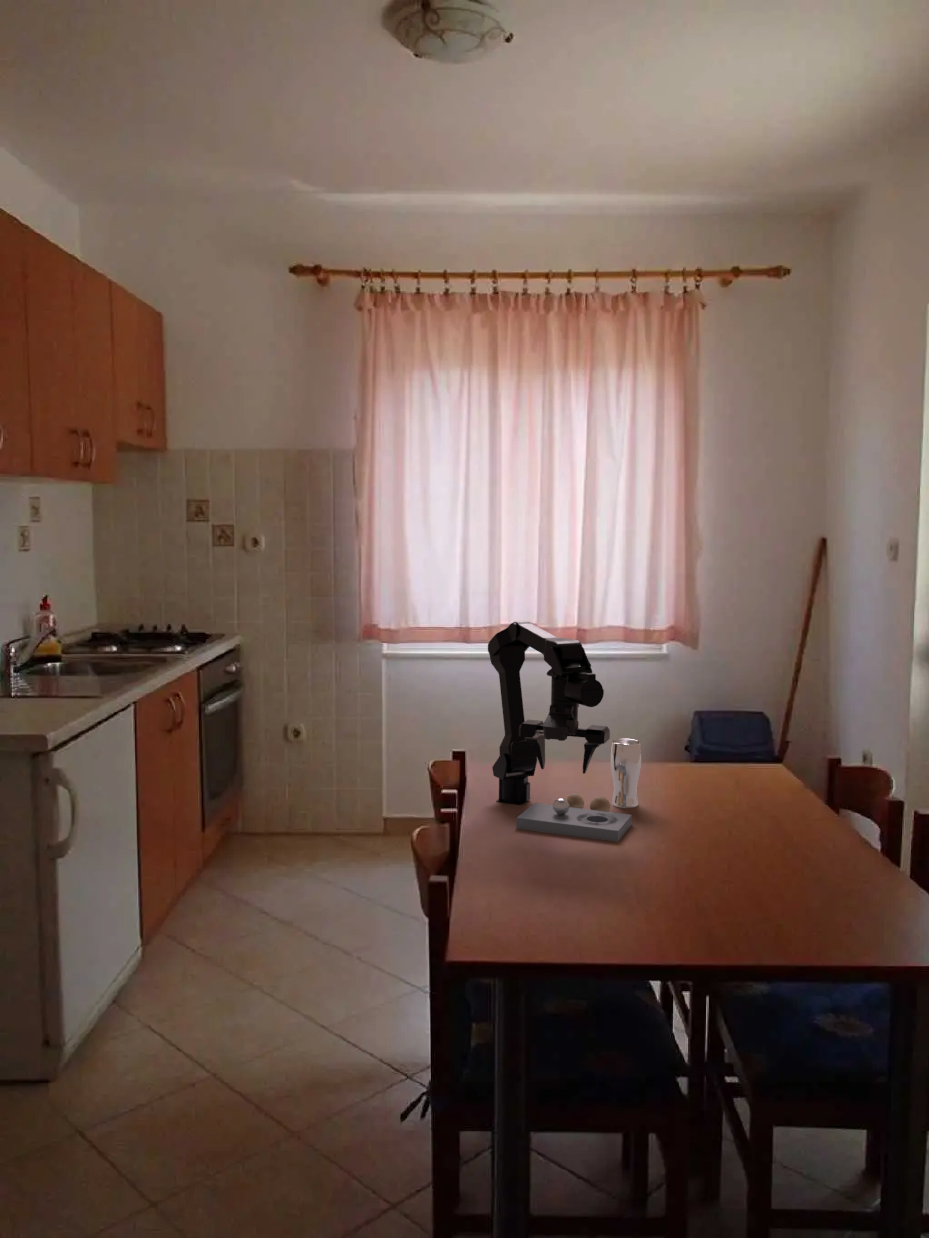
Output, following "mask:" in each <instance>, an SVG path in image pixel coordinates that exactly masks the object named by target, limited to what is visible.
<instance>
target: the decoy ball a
mask: <svg viewBox="0 0 929 1238" xmlns="http://www.w3.org/2000/svg"><path fill="white" fill-rule="evenodd" d="M564 799H565V800H567V801H568V803H569V807H573V808H581V809H584V807H585V800H584V798H583V797H582V796H581V795H580V794H578V793H577V792H576V793H575V792H574V793H569V794H567V796H565V798H564Z"/></svg>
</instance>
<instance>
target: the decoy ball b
mask: <svg viewBox="0 0 929 1238" xmlns="http://www.w3.org/2000/svg"><path fill="white" fill-rule="evenodd" d="M589 810H597V811H605V812H611V803H610V801H609V799H607V798H606V797H604V796H600V795H599V796H595V797H594V798H592V800H591V801H590V804H589Z"/></svg>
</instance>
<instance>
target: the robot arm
mask: <svg viewBox="0 0 929 1238" xmlns="http://www.w3.org/2000/svg"><path fill="white" fill-rule="evenodd" d="M530 648H532V649H533V650H534V651H537V652H539V653H540V654H541V655H543V660H544V661H545V662H544V663H546V664H547V665H548V666H550V669H549V670H548V671H547V672H546V675H547V676H549V677H551V678H550V679H551V681H550V683H551V692H550V702H551V703H550V705H549V708H548V709H549V711H548V714H547V717H546V718H545V720H544V721H543V720H535V719H526V720H525V711H524V710H525V709H524V703H523V702H524V699H523V690H522V682H521V681H522V680H521V673H520V672H521V669H522V667H523V665H524V663H525V661H526V652H527V650H528V649H530ZM487 652H488V655H489V658H490V664H491V665H492V667H494V670H496V672H497V673H498V677H499V678H498V679H499V688H500V700H501V708H502V716H503V717H502V718H503V719H502V720H503V727H504V728H503V729H504V736H503V738H502V741H501V743H500V745H499V756H498V758H497V759H496V761H495V762H494V764H493V765H492V767H491V768H492V774H493V775H492V776H493V777H495V778H497V779H498V799H497V800H496V801H495V802H496V803H500V804H501V803H502V804H507V805H508V804H509V805H517V806H523V805H524V804H525V803H527V802H528V801H530V800H531V783H530V782H529V777H534V776H535V771H536V767H537V764H539V766H540V769H541V770H544V769H545V766H546V765H545V764H546V740H548V741H549V740H556V741H559V742H560V741H561V742H562V741H566V740H567V739H568V737H572V738H573V737H574V738H585V740H586V742H585V743H583V746H584V747H583V749H584V752H583V753H584V754H583V761H582V774H584V775H585V774H586V772H588V771H587V770H588V768H589V765H590V764H591V763H590V762H591V760H592V758H593V755H594V752H595V750H597V748H599V747H600V746H601V745H604V744H605V743H607V742H609V740H610V737H611V731H610V728H609V726H606V725H596V724H591V725H589V726H588V727H587V728H582V727H581V728H580V727H579V718H578V716H579V707H580V705H581V706H585V707H587V708H593V707H597V706H598V705H599V704H600V703H602V700H603V697H604V694H605V692H604V691H605V689H604V688H603V685H602V683H601V682H600V681H599V680H597V679H596V678H597V675H596V673H594V672H593V670H592V664H591V662H590V661H589V658H588V656H587V653H586V651H585V648H584V647H583V644H582V643H581V642H580V640H578V639H572V638H565V637H557V636H555V635H553V634H551V633H549V632H548V631H547V630H544V629H542V628H541V627H538V626H537V625H535V624H534V623H533V622H532V621H530V620H525V621H524V620H523V621H521V620H519V621H513V622H511V623H510V624H509V625H508V626H507V627H506V628H504V629H502V630H501V631H499V632H497V633H495V635H494V636H492V637H491V639H490V641H489V642H488V644H487Z"/></svg>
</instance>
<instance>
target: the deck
mask: <svg viewBox="0 0 929 1238" xmlns="http://www.w3.org/2000/svg"><path fill="white" fill-rule="evenodd" d="M632 817H633V816H632V814H629V813H622V812H621V813H620V812H614V811H613V812H611V811H609V812H605V811H597V810H591V809H590V808H589V809H588V808H583V809H581V808H573V807H569V810H568V812H567V813H566V814H564V815H559V814H557V813H556V812H555V811H554V809H553V804H546V803H541V802H539V803H538V802H534V803H533V804H531V805H530V806H529V807H528V808H527V809H525V810H524V811H523V812H522V813H520V814H519V815H518V816H516V825H515V827H516V829H518V830H526V831H533V832H540V833H548V834H549V833H550V834H554V835H555V834H557V835H563V836H564V835H565V836H571V837H578V838H585V839H594V840H600V839H601V840H600V841H609V842H617V843H618V842H620V840H621V839H622V838H623V836H624V835H625V834H626V833H627V831H629V829H630V828H631V827H632V820H633V819H632Z"/></svg>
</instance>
